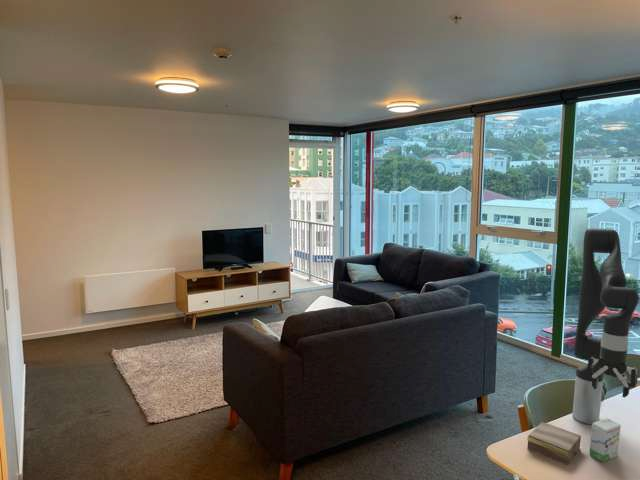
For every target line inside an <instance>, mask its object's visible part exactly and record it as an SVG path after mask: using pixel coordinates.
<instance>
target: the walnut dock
mask: <svg viewBox="0 0 640 480" xmlns="http://www.w3.org/2000/svg"><path fill="white" fill-rule="evenodd" d="M581 438H582V436H581V435H580V434H577V433H575V432H572V431H569V430H566V429H564V428H561V427H558V426H555V425H553V424H549V423H547V422H544V421H541V422H540V423H539V424H538V425H537V426H536V427H535V428H534V429H533V430H532V431H531V432H530V433H529V434H528V436H527V446H526V447H527V450H531V451H533V452H535V453H537V454H540V455H542V456H545V457H547V458H549V459H552V460H555V461H557V462H560V463H562V464H564V465H566V466H567V465H569V463H570V462H571V461H572V459H573V458H574V457H575V456H576V454H577V453H578V452H579V451H580V450H581V449H580V448H581Z"/></svg>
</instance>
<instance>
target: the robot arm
mask: <svg viewBox="0 0 640 480" xmlns="http://www.w3.org/2000/svg"><path fill="white" fill-rule="evenodd" d="M582 250H583V251H582V252H583V253H582V255H583V256H582V260H583V261H582V274H581V281H580V289H579V302H578V318H577V322H576V323H577V325H576V329H575V330H576V331H575V336H574V343H573V354H574V357H575V358H577V359H580V360H584V361H587V364H586V365H580V366H578V367H576V370H575V379H574V380H575V381H574V392H573V393H574V395H573V402H572V403H573V406H572V413H571V415H572V418H573V419H575V420H576V421H578V422H580V423H583V424H586V425H587V424H588V425H592V424H593V423H594V422H597V421H600V416H601V405H602V394H603V385H604V384H603V383H604V375H606V376H611V377H613V378H618V380H619V381H620V382H621V383H622V385H623V388H622V398H624V399H625V398H626V397H628V396H629V395H630V387H631V388H635V387H637V385H638V368H637V367H636V366H634V367H631V366H630V367H629V366H627V357H628V348H629V347H628V346H629V329H630V322H631V319H632V317H633V315H634V312H635V310H636V308H637V306H638V304H639V301H640V298H639V294H638V292H637V290H636V289H635V288H632V287H626V286H627V283H628V282H627V278H626V275H625V272H624V268H623V265H622V264H623V263H622V251H621V240H620V236H619V234H618V231H616V230H615V229H611V228H598V227H597V228H595V227H594V228H593V227H591V228H590V227H589V228H587V229H586V230H585V232H584V236H583V249H582ZM595 253H598V254H609V255H608V256H607V258H605V259H604V260H603V262H602V263H601V265H600V268H599V269H598V266H597V264H596V262H595V256H594V255H595ZM606 308H609V309H618V310H619V309H621V310H620V311H619V312H616V313H608V314H606V315H605V316H604V318H603V319H604V320H603V329H602V330H603V331H602V335H601V338H600V337H599V338H598V337H593V336H589V335H587V334H586V333H587V330H588V329H589V327H590V325H591V324H592V323H593V321H594V320H595V319H596V318H598V316H599V315H601V313H602V312H603V311H604V310H605V309H606ZM625 372H628V374H629V375H630V380H629V379H628V377H627V375H626V373H625Z"/></svg>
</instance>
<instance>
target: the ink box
mask: <svg viewBox="0 0 640 480" xmlns="http://www.w3.org/2000/svg"><path fill="white" fill-rule="evenodd" d="M621 426H622V425H621V424H620V423H618V422H616V421H614V420H612V419H610V418H608V417H606V418H603V419H599V421H597V422H594V423H593V424H591V432H590V434H591V435H590V443H589V444H590V445H589V456H590V457H592V458H594V459H595V460H598V461H599V462H601V463H605V462H607V461H608V460H611V459H614V458H617V457H618V456H619V455H618V454H619V445H620V436H621Z"/></svg>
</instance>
